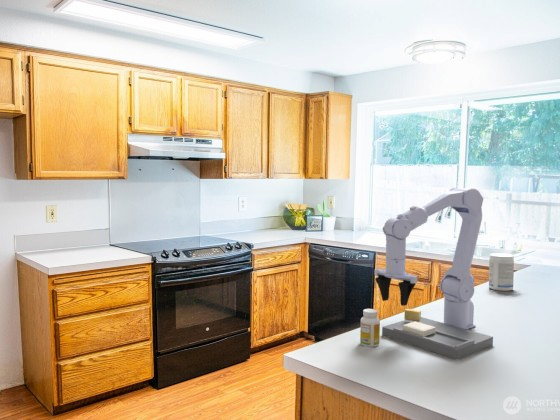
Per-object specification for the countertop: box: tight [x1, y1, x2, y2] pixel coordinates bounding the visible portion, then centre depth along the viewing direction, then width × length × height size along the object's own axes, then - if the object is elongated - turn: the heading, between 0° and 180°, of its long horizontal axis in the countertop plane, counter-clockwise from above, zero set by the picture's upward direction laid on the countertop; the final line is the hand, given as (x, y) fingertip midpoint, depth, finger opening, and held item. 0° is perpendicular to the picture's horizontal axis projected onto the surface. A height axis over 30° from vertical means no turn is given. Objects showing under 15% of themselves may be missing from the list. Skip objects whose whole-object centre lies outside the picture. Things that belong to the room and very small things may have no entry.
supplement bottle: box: [359, 308, 381, 348], centre depth 137 cm, size 5×5×10 cm
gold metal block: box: [403, 308, 422, 322], centre depth 149 cm, size 4×2×4 cm, turn 62°
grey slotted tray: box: [381, 316, 494, 361], centre depth 141 cm, size 18×25×4 cm
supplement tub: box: [488, 252, 515, 292], centre depth 205 cm, size 10×10×15 cm
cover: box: [403, 321, 436, 337], centre depth 140 cm, size 6×7×2 cm
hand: (394, 302), depth 146 cm, fingers open, 6 cm apart
